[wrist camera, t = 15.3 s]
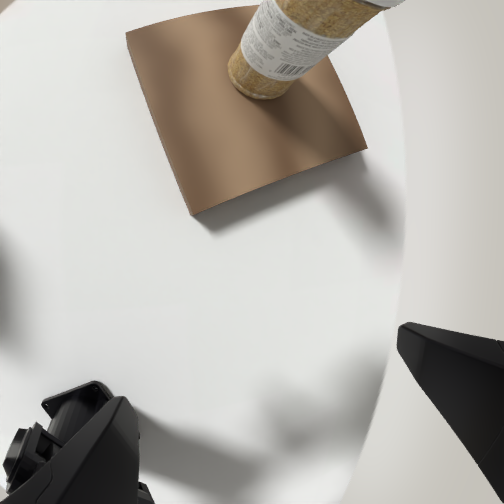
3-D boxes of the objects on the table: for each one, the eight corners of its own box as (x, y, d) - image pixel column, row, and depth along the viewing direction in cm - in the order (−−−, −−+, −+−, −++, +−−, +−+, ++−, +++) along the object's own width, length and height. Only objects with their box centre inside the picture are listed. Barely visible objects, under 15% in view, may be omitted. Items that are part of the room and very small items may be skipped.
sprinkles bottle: (286, 53, 17) (407, -58, 5) (291, 106, 18) (445, 7, 5) (225, 44, 16) (311, -104, 3) (224, 99, 17) (336, -54, 4)
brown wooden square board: (190, 215, 19) (193, 215, 17) (127, 46, 16) (125, 32, 14) (352, 152, 22) (367, 148, 20) (288, 15, 19) (297, 3, 17)
